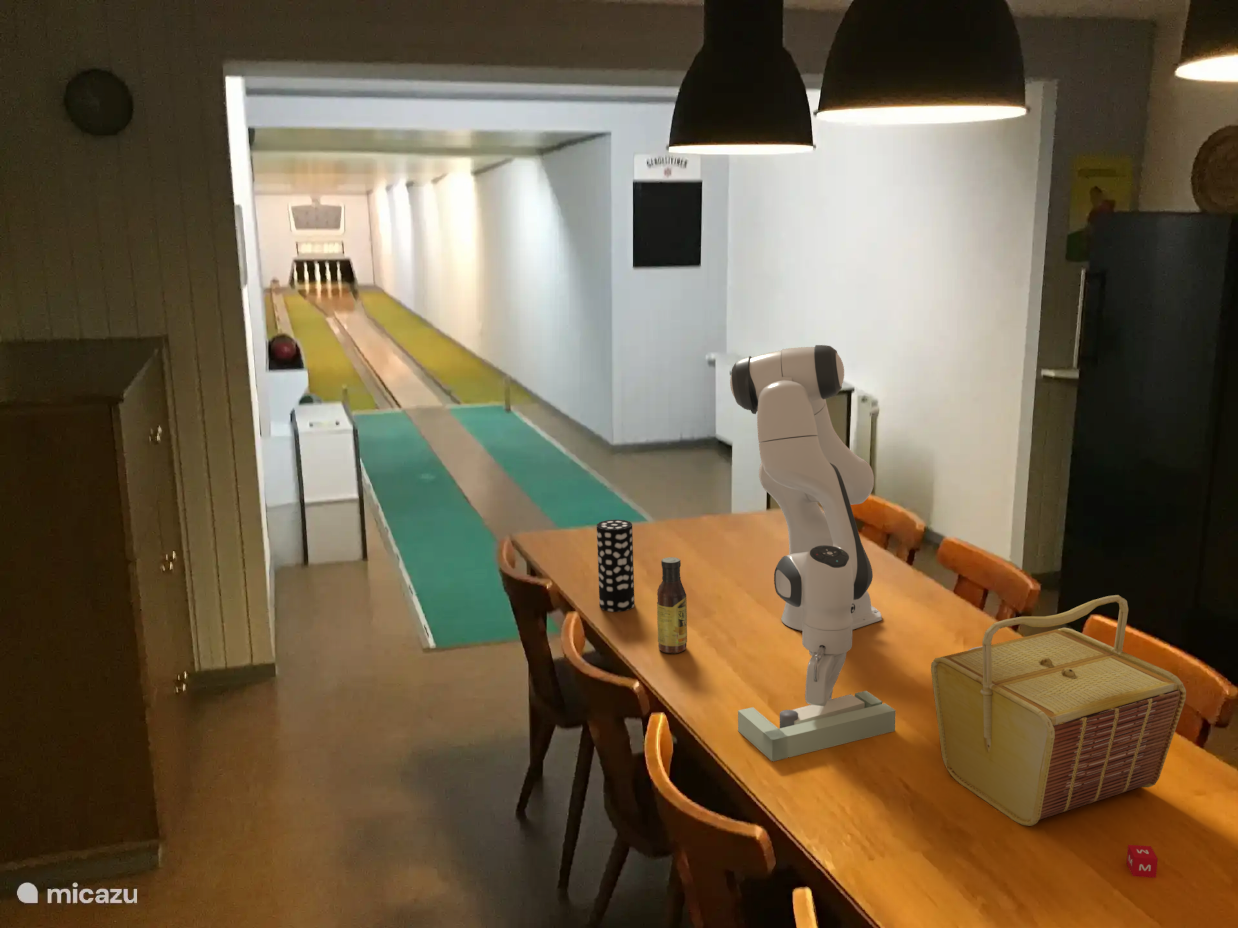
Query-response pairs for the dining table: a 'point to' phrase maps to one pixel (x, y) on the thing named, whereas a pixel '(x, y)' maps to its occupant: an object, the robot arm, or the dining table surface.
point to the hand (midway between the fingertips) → (825, 706)
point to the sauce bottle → (671, 608)
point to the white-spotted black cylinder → (615, 565)
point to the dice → (1142, 861)
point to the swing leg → (820, 710)
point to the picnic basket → (1054, 717)
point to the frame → (817, 729)
